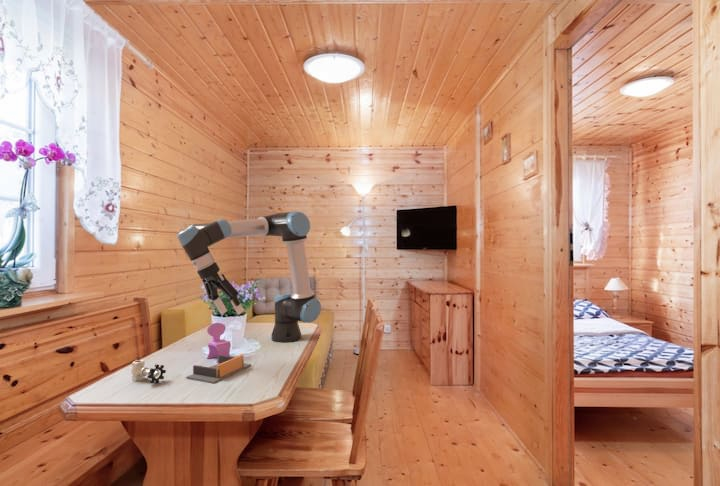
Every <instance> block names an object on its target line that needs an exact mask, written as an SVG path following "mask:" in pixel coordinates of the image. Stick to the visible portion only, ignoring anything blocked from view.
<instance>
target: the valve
mask: <svg viewBox="0 0 720 486" xmlns="http://www.w3.org/2000/svg"><path fill="white" fill-rule="evenodd" d="M131 366H132V368H131V375H132V376H131V381H132V382H140V381H143V380H144V379H145V377H147V379H151V380H149V383H150V384H159V383H160V380H164V378H165V376H164V375H163V374H165V373H166V372H167V370H166V369H164V368H165V365H164V364H157V363H155V364H154V368H153V367H152V368H148V367H146V366H145V360H143V359H136V360H134V361H133V362H132V363H131ZM156 377H157V378H156Z"/></svg>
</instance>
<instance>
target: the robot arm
mask: <svg viewBox="0 0 720 486" xmlns="http://www.w3.org/2000/svg"><path fill="white" fill-rule="evenodd" d="M310 230H311V222H310V219H309V217H308V216H307V215H306V214H305V213H303V212H301V211H288V212H287V211H286V212H277V213H273V214H270V215H264V216H259V217H258V218H254V219H253V218H252V219H242V220H241V219H239V220H231V221H230V220H229V221H227V220H226V219H224V218H220V219H217V220H215V221H213V222H208V223H206V222H205V223H194V224H191V225H189V226H188V227H186V229H185V230H182V231H180V232H178V233H177V239H178V241H179V244H180V246H182V248H183V250H184V251H185V253H186V255H187V257H188V258H189V260H190V262H191V266H193V267H194V269H195V270H196V271H197V274H198V276H199V277H200V279H201V281H202V283H203V285H204V288H205V291H206V294H207V297H208V299H209V300H211V301H212V302H213V303H214V305H215V307H216V309H217V310H218V311H219V313H220V315H223V314H225V313H226V312H228V309H227V308H226V306H225V304H224V302H223V300H222V299H221V297H220V294H219V293H218V290H220V291H221V292H222V293H223V294H225V296H227V297H228V298H229V301H230V303H231V305H232V307H233V309H234V311H235V312H236V314H237V315H241V314H242V313H243V312H244V311H245V309H244V307H243V305H242V303H241V302H240V300H239V298H238V295H240V294H239V291H237V290H236V288H235V287H234V286H233V285H232V283H230V281H228V279H227V278H226V276H225V274H224V273H222V274H220V275H219V273H218V272H219V271H221V270H220V266H219V265H218V263H217V262H215V257H214V256H213V254H212V253H211V251H210V249H209V247H211V246H213V245H215V244H216V243H218V242H221V241H222V240H226V239H236V238H243V237H250V236H251V237H252V236H260V237H281V239H282V240H281V241H282V243H283V244H285V246H286V251H287V252H286V253H287V258H288V259H287V260H288V265H289V267H288V268H289V273H290V281H291V286H292V287H291V288H292V292H290V293H282V294H277V295H276V296H275V297H274V326H273V329H272V332H271V340H272V342H277V343H290V342H296V341H299V340H301V339H302V332H301V328H300V326H299V322H302V323H313V322H315V321H316V320H317V319H318V318H319V315H320V314H321V312H322V311H321V310H322V304H321V301H320V300H319V299H317V298H316V297H315V296H316V294H315V292H314V291H313V290H312V289H311V282H310V274H309V268H308V266H309V265H308V259H307V253H306V247H305V246H306V245H305V241H306V240H307V237H308V236H307V235H308V234H309V232H310Z"/></svg>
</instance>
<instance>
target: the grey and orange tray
mask: <svg viewBox="0 0 720 486" xmlns="http://www.w3.org/2000/svg"><path fill="white" fill-rule="evenodd" d="M218 358H219V362H218V363H217V364H214V365H212V366H209V367H208V366H203V365H198V364H197V365H196V364H194V365H192V366H193V367H192V368H193V369H192V371H193V373H192V374H190V375H187V376H185V378H186V379H187V380H193V381H197V382H198V381H199V382H204V383H210V384H216V383H218V382H220V381H222V380H224V379H226V378H229V377H231V376H233V375H235V374H237V373H240V372H241V371H243V370H246V369H247V368H249V367H251V366H252V363H251V364H250V363H247V362H246V363H245V362H244V361H245V360H244V354H239V355H238V356H236V357H235V356H234V357H233V356H230V357H228V356H221V355H220V356H218Z"/></svg>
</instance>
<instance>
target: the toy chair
mask: <svg viewBox="0 0 720 486" xmlns="http://www.w3.org/2000/svg"><path fill="white" fill-rule="evenodd" d="M226 328H227V326H226V325H225V324H224V323H221V322H214V323H211V324H210V325H209V326H208V327H207V329H206V333H207V334H208V335H209V336H210V337H212V341H208V343H207V348H208V354H207V356H206V360H209V359H212V358H216V357H217V359H216V360H217V361H216V363H217V364H218V363H219V356H220V355H221V356H228V357H231V355H230V352H231V351H230V350H231V347H232V345H231V341H229V340H225V339H223V338H222V339H221V336H222V335H223V334H224V333H225V331H226Z"/></svg>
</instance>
